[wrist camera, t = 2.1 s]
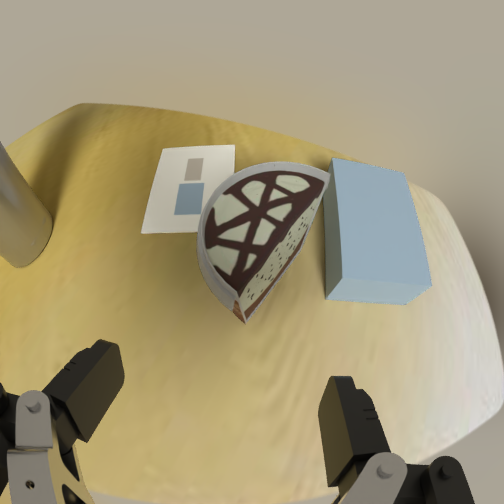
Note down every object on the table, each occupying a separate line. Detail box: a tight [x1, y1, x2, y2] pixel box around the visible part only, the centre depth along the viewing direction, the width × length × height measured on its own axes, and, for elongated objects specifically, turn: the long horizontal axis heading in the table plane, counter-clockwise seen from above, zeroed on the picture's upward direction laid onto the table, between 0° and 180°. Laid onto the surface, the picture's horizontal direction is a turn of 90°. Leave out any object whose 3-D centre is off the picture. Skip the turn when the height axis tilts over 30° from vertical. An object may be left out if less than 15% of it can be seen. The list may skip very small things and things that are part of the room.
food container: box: [196, 162, 331, 324], centre depth 22 cm, size 12×6×10 cm, turn 144°
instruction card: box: [141, 145, 235, 234], centre depth 31 cm, size 10×14×1 cm
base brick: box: [323, 158, 432, 305], centre depth 26 cm, size 9×14×5 cm, turn 174°
